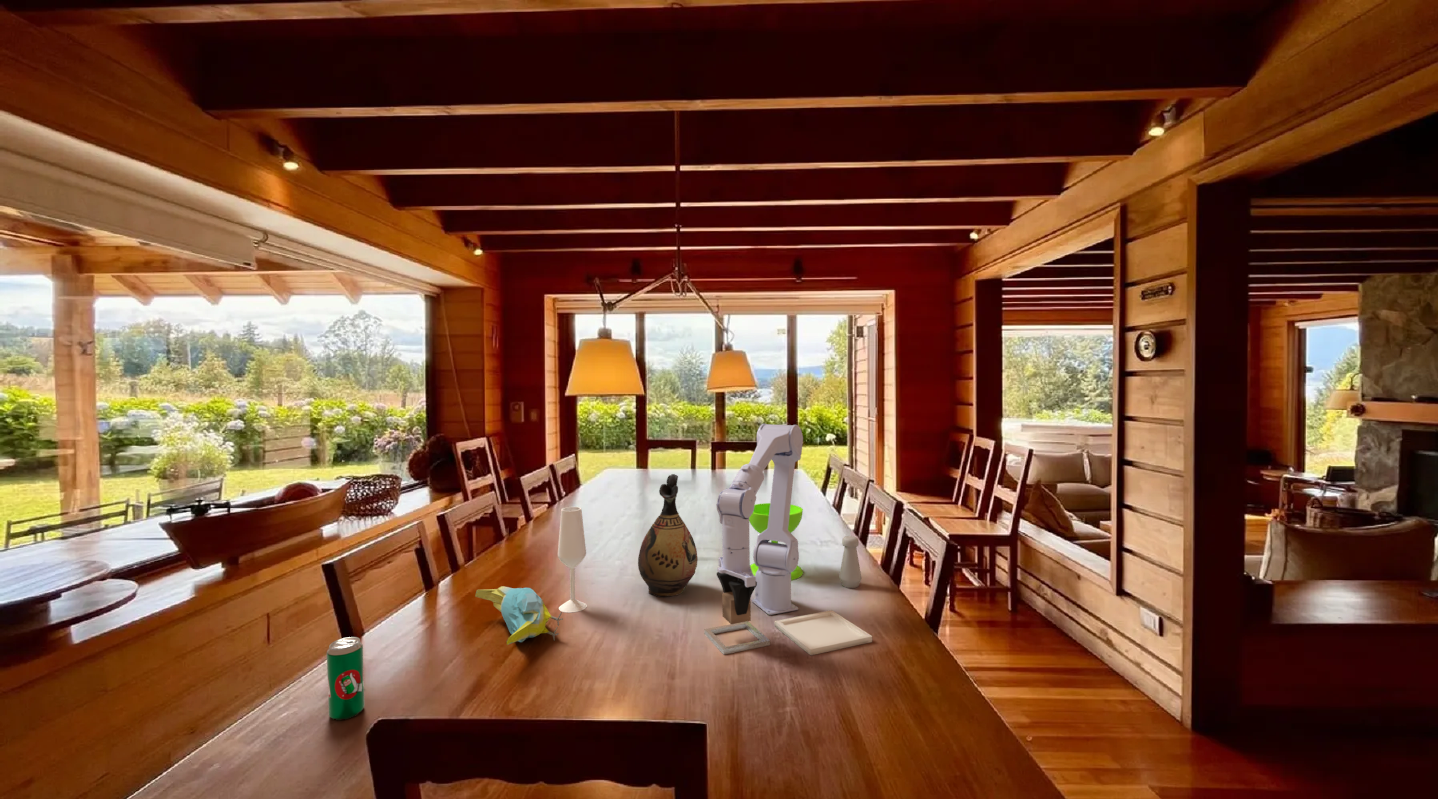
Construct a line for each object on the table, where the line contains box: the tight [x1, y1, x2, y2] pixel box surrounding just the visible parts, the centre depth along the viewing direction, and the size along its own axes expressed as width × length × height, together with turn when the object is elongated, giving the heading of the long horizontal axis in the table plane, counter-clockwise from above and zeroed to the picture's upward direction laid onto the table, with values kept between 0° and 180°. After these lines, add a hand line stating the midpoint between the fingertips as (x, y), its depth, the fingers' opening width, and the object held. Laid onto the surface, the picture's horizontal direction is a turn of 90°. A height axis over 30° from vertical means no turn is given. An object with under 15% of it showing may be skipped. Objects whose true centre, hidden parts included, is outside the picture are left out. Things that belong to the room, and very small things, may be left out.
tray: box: [774, 609, 873, 656], centre depth 128 cm, size 15×15×1 cm
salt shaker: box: [838, 535, 862, 589], centre depth 157 cm, size 6×6×13 cm
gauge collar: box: [703, 621, 771, 655], centre depth 125 cm, size 10×10×1 cm
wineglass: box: [749, 502, 804, 581], centre depth 168 cm, size 16×16×18 cm
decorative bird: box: [474, 585, 564, 646], centre depth 127 cm, size 14×30×9 cm, turn 32°
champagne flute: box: [557, 506, 588, 614], centre depth 143 cm, size 7×7×24 cm
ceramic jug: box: [637, 473, 698, 598], centre depth 155 cm, size 17×15×30 cm
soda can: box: [326, 636, 366, 721], centre depth 98 cm, size 5×5×12 cm
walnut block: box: [721, 592, 752, 625], centre depth 125 cm, size 4×4×5 cm
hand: (736, 609), depth 125 cm, fingers closed on walnut block, 4 cm apart
